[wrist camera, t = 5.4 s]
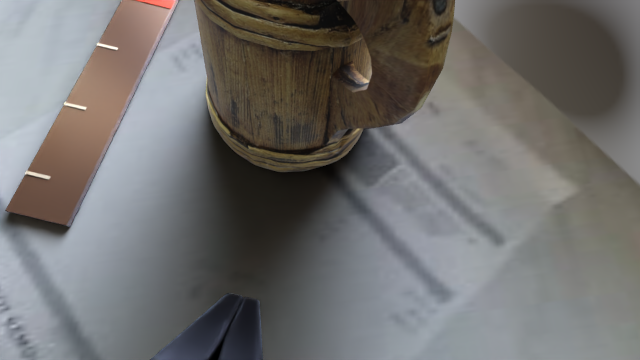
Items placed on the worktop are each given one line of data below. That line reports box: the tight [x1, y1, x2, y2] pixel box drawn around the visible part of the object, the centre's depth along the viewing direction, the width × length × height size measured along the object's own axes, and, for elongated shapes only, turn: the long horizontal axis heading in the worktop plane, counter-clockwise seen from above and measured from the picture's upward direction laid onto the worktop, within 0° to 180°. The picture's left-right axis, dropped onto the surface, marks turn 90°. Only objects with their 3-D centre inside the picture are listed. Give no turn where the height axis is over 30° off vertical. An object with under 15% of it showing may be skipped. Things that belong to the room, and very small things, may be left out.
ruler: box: [5, 0, 179, 226], centre depth 19 cm, size 20×3×1 cm, turn 167°
